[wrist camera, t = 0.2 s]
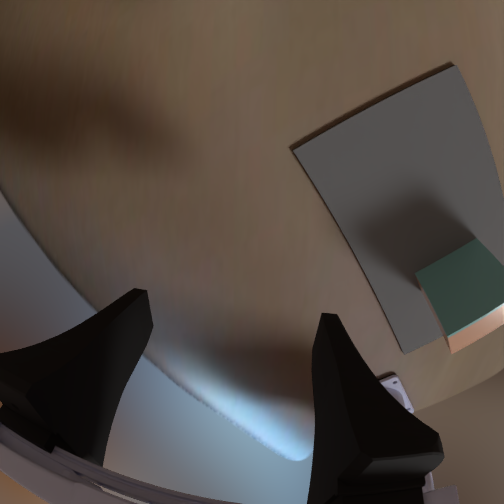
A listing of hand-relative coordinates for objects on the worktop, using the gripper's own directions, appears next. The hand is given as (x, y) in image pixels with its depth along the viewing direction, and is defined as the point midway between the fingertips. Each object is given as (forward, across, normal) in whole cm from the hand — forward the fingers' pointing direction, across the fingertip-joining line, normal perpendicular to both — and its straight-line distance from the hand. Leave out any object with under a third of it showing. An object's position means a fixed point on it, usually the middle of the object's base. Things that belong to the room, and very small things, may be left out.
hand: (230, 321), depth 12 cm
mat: (+10, -14, -1) cm, 17 cm away
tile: (+10, -15, +1) cm, 18 cm away
